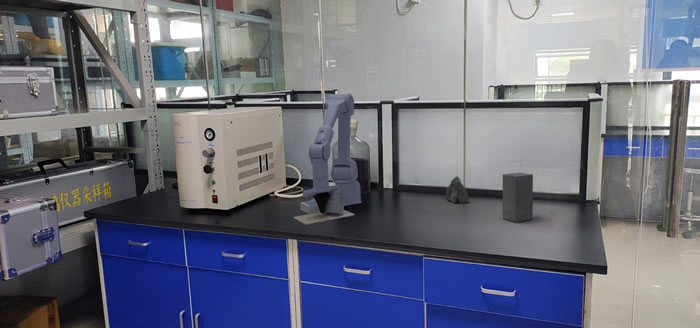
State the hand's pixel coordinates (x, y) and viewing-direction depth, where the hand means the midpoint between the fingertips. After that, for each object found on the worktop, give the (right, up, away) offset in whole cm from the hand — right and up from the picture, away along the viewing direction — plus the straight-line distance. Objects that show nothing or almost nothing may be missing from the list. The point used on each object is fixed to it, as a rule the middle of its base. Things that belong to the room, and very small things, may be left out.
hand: (322, 212), depth 181 cm
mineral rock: (+53, +3, +18) cm, 56 cm away
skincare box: (+68, -1, -11) cm, 69 cm away
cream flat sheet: (+1, -1, +1) cm, 2 cm away
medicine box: (+3, 0, +1) cm, 3 cm away
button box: (-4, 0, +10) cm, 10 cm away
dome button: (-4, +1, +10) cm, 10 cm away
